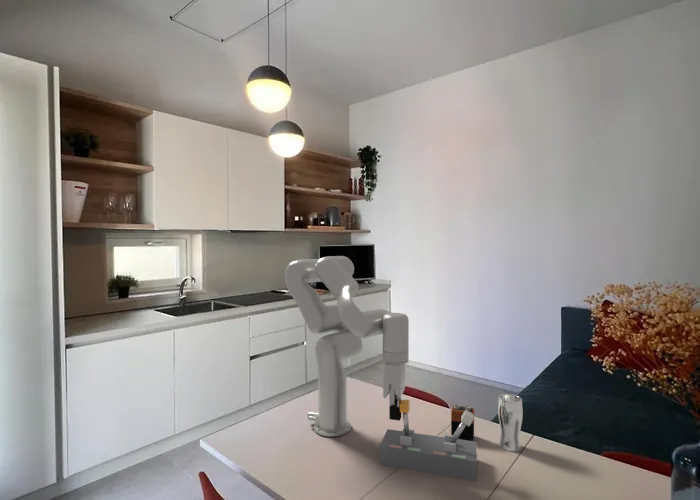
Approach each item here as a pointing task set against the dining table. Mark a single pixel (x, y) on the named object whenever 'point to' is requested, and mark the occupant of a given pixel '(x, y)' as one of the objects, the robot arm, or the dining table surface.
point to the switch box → (429, 454)
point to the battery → (456, 421)
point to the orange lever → (405, 415)
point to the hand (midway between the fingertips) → (395, 418)
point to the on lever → (462, 425)
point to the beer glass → (510, 421)
